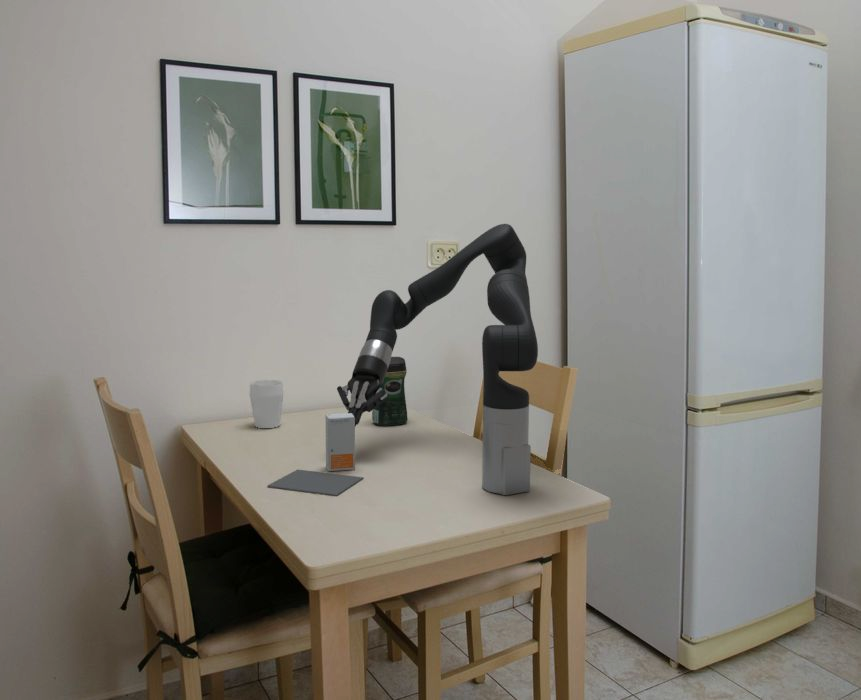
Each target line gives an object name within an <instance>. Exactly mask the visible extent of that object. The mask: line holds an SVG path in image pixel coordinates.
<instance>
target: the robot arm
mask: <svg viewBox="0 0 861 700" xmlns="http://www.w3.org/2000/svg"><path fill="white" fill-rule="evenodd" d="M481 255H484V256H485V258H486V260H487V262H488V264H489V265H490V268H491V269H492V270H493V272H494V274H493V275H492V276H491V278H490V279H489V281H488V283H487V290H486V292H487V293H486V294H487V296H486V297H487V298H486V299H487V306H488V309H489V310H490V312H491V314H492V315H493V316H494V317H495V318H496V319H497V320H498V321H499V322H500V323H501V324H490V325H487V326H485V328H484V330H483V334H482V338H481V339H482V340H481V342H482V343H481V345H482V346H481V348H482V349H481V354H482V369H483V371H482V373H483V393H482V396H483V397H482V451H481V452H482V456H481V457H482V460H481V461H482V463H481V465H482V467H481V468H482V469H481V470H482V473H481V475H482V476H481V477H482V479H481V480H482V481H481V482H482V486H481V487H482V488H483V490H485V491H487V492H489V493H495V494H499V495H502V496H509V495H515V494H520V493H526V492H530V491H531V444H529V428H530V426H529V423H530V422H529V421H530V420H529V419H530V394H529V392H528V390H526V389H525V388H523V387H520V386H517V385H514V384H511V383H510V382H508V381H506V380H505V379H503V378H502V377H501V376H500V374H499V373H500V372H527V371H530V370H532V369H533V368H534V367H535V366H536V363H537V361H538V356H539V355H538V354H539V346H538V345H539V344H538V339H537V335H536V330H535V326H534V322H533V318H532V312H531V301H530V300H531V299H530V293H529V292H530V291H529V285H528V278H527V275H526V267H527V253H526V249H525V246H524V245H523V244H522V241H521V239H520V238H519V236H518V233H516V231H515V229H514V227H513V226H512V225H511V224H509V223H501V224H498V225H496V226H495V225H494V226H493V227H491V228H489V229H488V230H486V231H485V232H483V233H482V234H480V235H479V236H478V237H477V238H475V239H474V240H473V241H471V242H470V243H468V244H467V245H466V246H464V247H463V248H462V249H461V250H459V252H456V254H454V255H453V256H452V257H451V258H450V259H448V260H447V261H446V262H444V263H442V264H441V265H440V266H438V267H437V268H435V269H434V270H431V272H428V273H427V274H425V275H422V276H421V277H420V278H417V280H415V281H413V282H411V283H410V284H409V285H408V286H407V293H408V295H409V297H410V298H409V299H408V301H407V302H406V303H405V302H404V301H403V300H402V298H401V297H400V295H399V294H398V293H397V292H396V291H394V290H391V289H387V290H383V291H381V292H379V294H377V295H376V297H375V298H374V299H373V303H372V305H371V311H370V320H369V331H368V334H367V336H366V340H365V341H364V344H363V346H362V347H361V350H360V352H359V354H358V357H357V361H356V363H355V365H354V368H353V371H352V375H351V378H350V380H348V382H347V384H345V385H344V386H340V385H339V386H337V388H336V390H337V392H338V396H339V397H340V400H341V401H342V404H343V406H344V407H345V409H346V410H347V413H352V414H353V416H354V417H355V428H356V426H358V425H359V424H360V421H361V418H362V416H363V414H364V413H365V412H368V413H370V412H372V411H373V409H375V408H376V407H377V406H378V405H380V404H381V403H382V402H384V401H385V400H386V399H387V398H388V395H387V393H386V391H385V390H384V389H382V383H383V381H384V378H385V375H386V372H387V369H388V366H389V364H390V361H391V357H392V354H393V351H394V348H395V346H396V343H397V340H398V339H397V338H398V333H397V330H402V329H404V328H406V327H408V326H409V325H410V323H412V322H413V321H414V320H415V318H416V317H417V316H419V315H420V314H421V313H422V312H423V311H424V310H425V309H426V308H427V307H429V306H431V305H433V304H435V303H436V302H439V300H441V299H443V298H445V297H446V296H448V295H449V294H450V293H451V292H452V291H453V290H454V289H455V288H456V286H457V284H458V283H459V281H460V279H461V277H462V276H463V275H464V272H465V271H466V270H467V269H468V267H469V265H470V264H471V263H472V262H473V261H474V260H476V259H477V258H478V257H480V256H481ZM349 392H350V401H349V398H348V396H349Z"/></svg>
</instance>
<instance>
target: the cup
mask: <svg viewBox="0 0 861 700" xmlns="http://www.w3.org/2000/svg"><path fill="white" fill-rule="evenodd" d="M283 384H284V382H283V381H282V380H276V379H263V380H261V379H260V380H255V381H252V382H249V398H250V403H251V404H250V405H251V410H252V415H253V420H254V426H256V427H255V428H257V427H258V428H257V429H260V428H272V429H275V428H274V427H276V428H279V427H280V426H281V422H282V411H283V403H284V396H285V395H284V393H285V391H284V385H283ZM278 426H279V427H278Z"/></svg>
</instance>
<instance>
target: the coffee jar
mask: <svg viewBox="0 0 861 700" xmlns="http://www.w3.org/2000/svg"><path fill="white" fill-rule="evenodd" d="M406 363H407V362H406V360H405V358H404V357H401V356H391V361H390V364H389V366H388V369H387V372H386V375H385V378H384V381H383V383H382V389H384V390H385V391H386V393H387V395H388V398H387V399H386V400H385V401H384V402H382V403H381V404H380V405H378V406H377V407H376V408H375V409H373V410H372V411H371V412H372V414H371V417H372V418H371V420H372V421H371V422H372V423H373V424H374V425H376V426H378V425H379V426H382V427H383V426H384V427H387V426H389V427H390V426H398V425H404V424H405V423H407V422H408V420H409V419H408V418H409V417H408V410H407V409H408V408H407V401H406V392H405V379H406V376H407V373H408V372H407V370H408V369H407V364H406Z"/></svg>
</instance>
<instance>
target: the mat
mask: <svg viewBox="0 0 861 700" xmlns="http://www.w3.org/2000/svg"><path fill="white" fill-rule="evenodd" d="M363 480H364V477H362V476H355V475H347V474H338V473H331V472H330V473H329V472H323V471H322V472H321V471H320V472H319V471H313V470H304V469H296V470H294V471H292V472H290V473H288V474H286V475H284V476H282V477H280V478H279V479H277V480H275V481H273V482H271V483H269V484H268V485H266V487H267V486H268V487H267V488H270V487H274V488H273V489H278V488H282V489H281V490H285V489H291V490H290V491H293V490H299V491H298V492H300V491H306V492H305V493H308V492H312V493H311V494H316V493H319V494H318V495H323V494H325V496H331V495H333V496H332V497H338V496H340V495H341V494H343V493H344V492H346V491H347V490H348V488H349V489H350V488H351V487H353V486H355V485H356V484H357V483H359V482H361V481H363ZM345 490H346V491H345ZM342 492H343V493H342ZM339 494H340V495H339Z"/></svg>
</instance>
